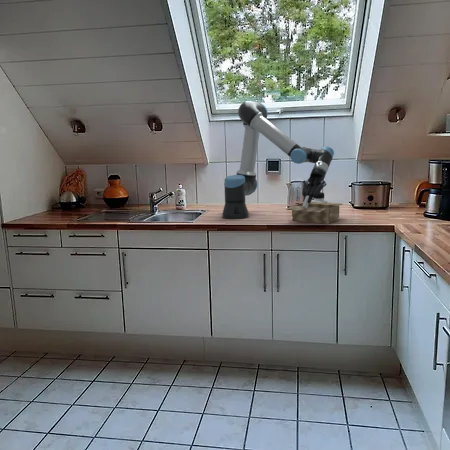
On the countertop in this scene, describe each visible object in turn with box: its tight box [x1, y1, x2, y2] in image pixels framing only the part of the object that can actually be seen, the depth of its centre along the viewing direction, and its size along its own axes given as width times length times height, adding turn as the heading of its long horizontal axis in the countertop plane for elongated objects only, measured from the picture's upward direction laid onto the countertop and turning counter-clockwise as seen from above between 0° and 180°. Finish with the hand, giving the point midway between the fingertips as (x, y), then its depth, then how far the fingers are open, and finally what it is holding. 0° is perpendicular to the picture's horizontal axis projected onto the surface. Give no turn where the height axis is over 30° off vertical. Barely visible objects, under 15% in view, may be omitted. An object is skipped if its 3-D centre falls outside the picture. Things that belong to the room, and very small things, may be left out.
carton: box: [291, 201, 344, 225], centre depth 241 cm, size 22×19×8 cm
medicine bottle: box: [311, 191, 328, 203], centre depth 262 cm, size 7×7×12 cm
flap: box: [285, 205, 326, 213], centre depth 230 cm, size 19×1×7 cm
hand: (304, 207), depth 227 cm, fingers closed
